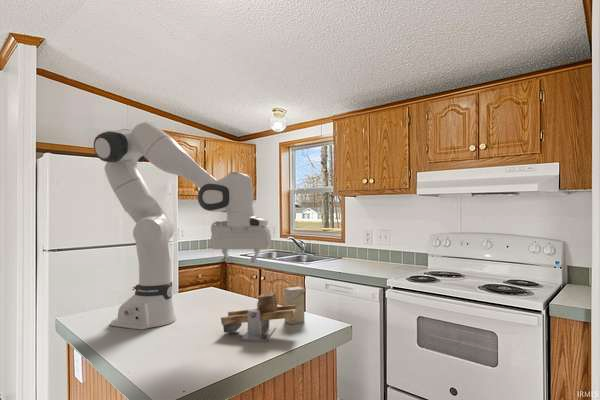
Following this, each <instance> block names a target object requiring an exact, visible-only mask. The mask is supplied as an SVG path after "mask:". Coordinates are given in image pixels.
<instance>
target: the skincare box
mask: <svg viewBox="0 0 600 400" xmlns="http://www.w3.org/2000/svg"><path fill="white" fill-rule="evenodd" d="M288 305H297V313H296V314H295V316H294V317H293V318H284V323H287V324H289V325H293V324H300V323H304V322H305V288H303V287H301V286H292V287H285V288H284V306H288Z"/></svg>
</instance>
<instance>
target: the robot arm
mask: <svg viewBox="0 0 600 400" xmlns="http://www.w3.org/2000/svg"><path fill="white" fill-rule="evenodd" d="M93 150H94V153H95V156H96V157H97V158H98V159H99V160H100V161H102V162H104V163H105V162H106V163H105V165H104V172H105V176H106V178H107V180H108V182H109V185H110V187H111V189H112V191H113V193H114V194H115V196H116V198H117V199H118V202H119V203H120V205H121V207H122V209H123V210H124V212H125V213H127V214H128V215H129V217H130V218H131V219H132V220H133V221H134V223H136V224H135V225H134V227H133V230H132V237H133V239H134V241H135V247H136V254H137V259H138V275H139V276H138V284H137V285H135V286H132V287H131V288H132V290H131V291H134V294H133V295H132V296H131V297H129V298H128V299H127V300H126V301H124V303H122V304H121V305H120V306H119V308H118V312H117V317H115V318H113V320H111V321H110V324H109V325H110V326H112V327H120V328H125V329H126V328H127V329H133V330H142V331H143V330H146V329H150V328H156V327H162V326H166V325H169V324H172V323H174V322H175V321H177V318H176V314H175V311H174V305H173V281H172V260H171V257H170V250H169V249H170V248H169V241H170V240H171V239H172V237H173V235H174V232H175V228H174V224H173V222H172V221H171V219H170V217H169V216H168V215H167V213H166V211H165V210H164V208H162V206H161V205H160V203H159V202H158V200H156V198H155V196H154V194H153V193H152V192H151V190H150V188H149V186H148V184H147V182H146V181H145V179H144V178H143V176H142V174H141V173H140V171H139V168H138V162H139V163H142V162H144V161H145V159H146V160H147V161H148V162H150V163H151V164H152V165H153V166H154V167H156V168H158V169H159V170H161V171H163V172H165V173H167V174H171V175H175V176H178V177H182V178H183V179H187V180H189V182H191V183H192V184H194V185H195V186H196V187H197V188H199V191H198V193H197V201H198V204H199V206H200V208H202V209H203V210H205V211H208V212H219V213H220V212H221V213H226V220H224V221H214V222H213V223H212V224H211V226H210V232H211V236H210V247H211V248H212V250H221V253H222V255H223V256H224V258H225V263H226V264H227V263H232V262H233V261H232V259H233V258H232V256H229V254H228V252H229V250H253V253H254V255H253V256H252V257H250V263H251V264H256V263H257V262H258V261H257V260H258V259H257V257H258V255H260V252H261V250H268V249H270V248H271V246H272V236H271V230H270V228H269V227H268V223H269V222H268V219H266V218H263V217H259V216H257V215H254V207H253V202H254V188H253V181H252V178H251V176H249V175H248V174H246V173H241V172H235V171H234V172H231V171H230V172H228V173H227V174H226V175H225V176H223V177H222V178H219V179H217V178H215V177H214V175H212V174H210V173H209V172H208V171H207V170H206V169H204V168H203V167H201V166H200V165H199V164H198V163H197V162H196V161H195V160H194V159H193V158H192V157H191V156H190V154H188V153H187V151H185V150H184V148H182V146H181V145H179V143H178V142H177V141H176V140H175V139H173V138H172V137H171V135H169V134H168V133H166V132H165V131H164V130H162V129H161V128H159V127H157V126H156V125H154V124H152V123H151V122H145V121H144V122H141V123H139V124H136V126H134V127H133V128H121V129H117V130H112V131H111V130H109V131H108V130H107V131H104V132H102V133H99V134H97V135H96V136H95V138H94V141H93Z"/></svg>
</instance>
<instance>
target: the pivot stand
mask: <svg viewBox="0 0 600 400" xmlns="http://www.w3.org/2000/svg"><path fill="white" fill-rule="evenodd" d="M256 309H259V303H258V301H257V302H256ZM247 310H248V322H247V330H246V332H245V334H244V335H243V336H242V337H241V338H240V341H241V342H251V343H267V342H268V340H269V338H270V337H271V336H272V334H274V332H275V330H276V329H277V328H276V326H275V325H270V321H271V320H264V321H261V310H252V309H247Z"/></svg>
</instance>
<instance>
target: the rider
mask: <svg viewBox="0 0 600 400" xmlns="http://www.w3.org/2000/svg"><path fill="white" fill-rule="evenodd" d="M257 302H258V303H259V310H261V313H268V312H277V311H278V307H279V306H278V300H277V295H276V292H267V293H261V294H260V295H258V296H257Z"/></svg>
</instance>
